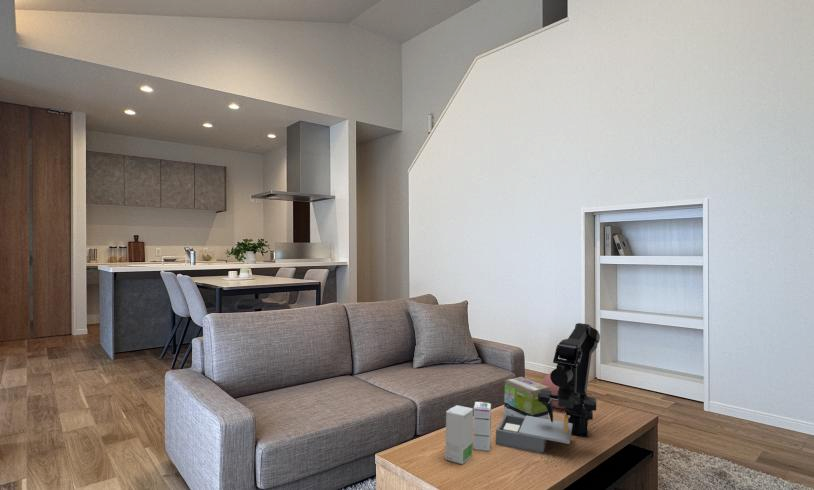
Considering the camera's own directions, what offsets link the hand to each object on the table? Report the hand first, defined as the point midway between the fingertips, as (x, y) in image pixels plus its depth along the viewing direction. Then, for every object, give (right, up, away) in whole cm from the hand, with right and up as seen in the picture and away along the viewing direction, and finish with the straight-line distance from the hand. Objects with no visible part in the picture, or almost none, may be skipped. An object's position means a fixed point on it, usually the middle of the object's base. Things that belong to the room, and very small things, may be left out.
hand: (566, 424), depth 157 cm
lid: (-6, -3, +3) cm, 7 cm away
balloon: (+12, -8, +37) cm, 40 cm away
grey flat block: (-13, -8, +6) cm, 17 cm away
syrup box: (-29, -8, 0) cm, 30 cm away
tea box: (-7, -8, +25) cm, 27 cm away
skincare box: (-38, -8, -9) cm, 40 cm away
